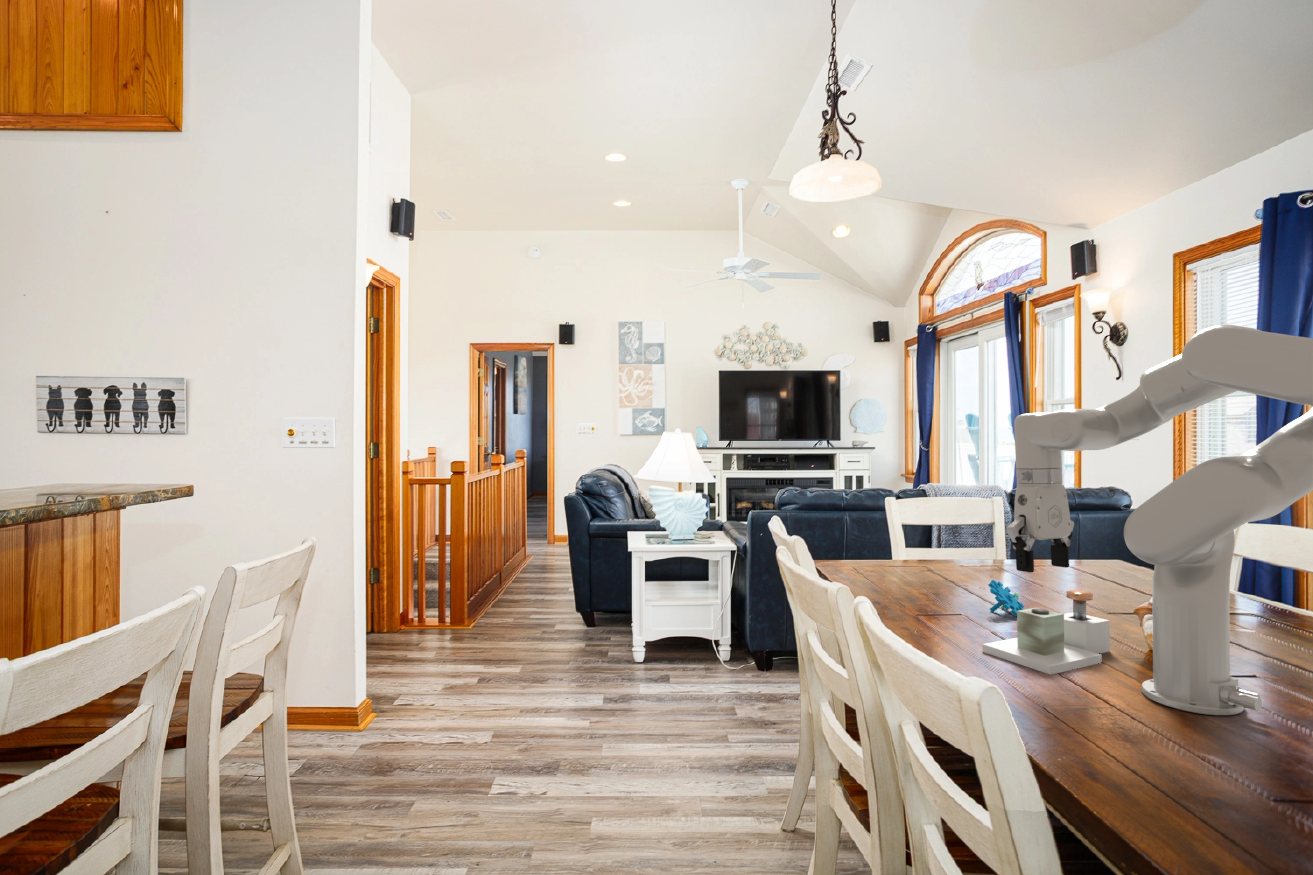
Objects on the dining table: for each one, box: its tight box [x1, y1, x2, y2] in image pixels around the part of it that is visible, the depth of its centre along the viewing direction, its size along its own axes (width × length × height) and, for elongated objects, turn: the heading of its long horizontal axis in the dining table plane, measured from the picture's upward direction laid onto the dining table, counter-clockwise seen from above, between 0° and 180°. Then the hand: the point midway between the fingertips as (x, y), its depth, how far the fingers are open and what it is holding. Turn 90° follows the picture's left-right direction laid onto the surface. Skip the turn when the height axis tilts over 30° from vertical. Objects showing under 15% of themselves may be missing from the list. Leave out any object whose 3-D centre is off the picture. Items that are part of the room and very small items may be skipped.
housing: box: [1016, 607, 1065, 656], centre depth 126 cm, size 6×6×7 cm
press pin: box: [1065, 589, 1094, 621], centre depth 131 cm, size 4×4×6 cm
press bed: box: [982, 611, 1111, 675], centre depth 128 cm, size 14×22×6 cm, turn 114°
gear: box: [987, 579, 1025, 617], centre depth 158 cm, size 11×6×10 cm
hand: (1043, 568), depth 126 cm, fingers open, 9 cm apart
